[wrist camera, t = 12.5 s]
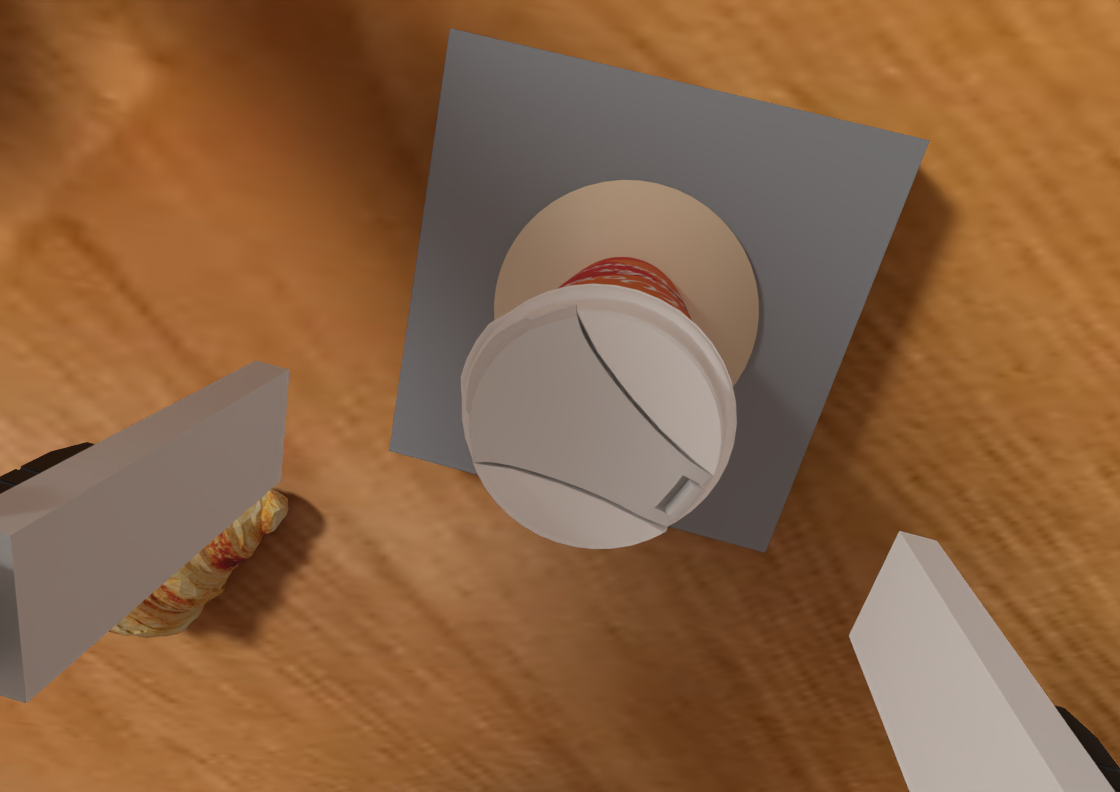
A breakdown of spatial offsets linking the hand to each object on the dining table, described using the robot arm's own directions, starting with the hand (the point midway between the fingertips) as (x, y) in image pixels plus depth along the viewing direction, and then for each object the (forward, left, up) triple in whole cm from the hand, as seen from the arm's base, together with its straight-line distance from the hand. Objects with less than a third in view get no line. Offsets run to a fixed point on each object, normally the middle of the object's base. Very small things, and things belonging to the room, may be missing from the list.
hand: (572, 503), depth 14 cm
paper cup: (0, 0, -18) cm, 18 cm away
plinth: (0, 0, -22) cm, 22 cm away
